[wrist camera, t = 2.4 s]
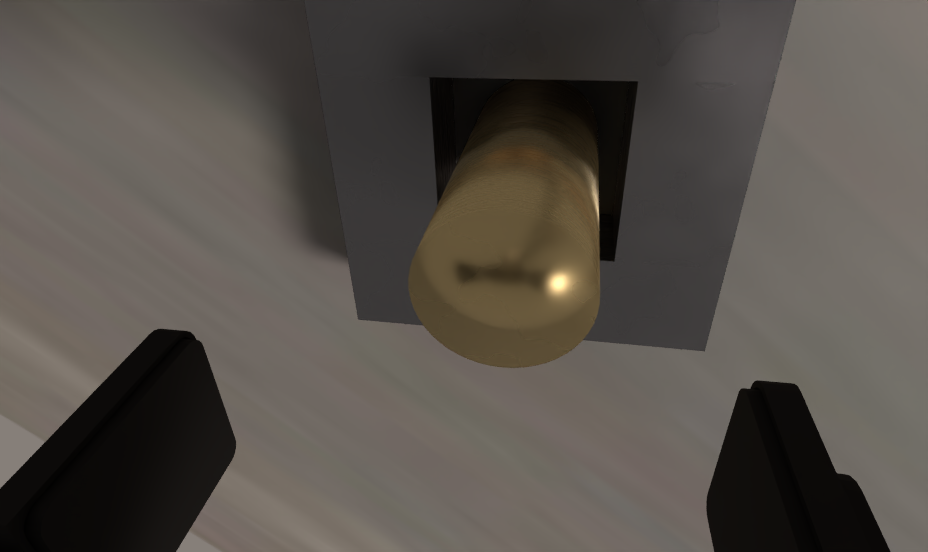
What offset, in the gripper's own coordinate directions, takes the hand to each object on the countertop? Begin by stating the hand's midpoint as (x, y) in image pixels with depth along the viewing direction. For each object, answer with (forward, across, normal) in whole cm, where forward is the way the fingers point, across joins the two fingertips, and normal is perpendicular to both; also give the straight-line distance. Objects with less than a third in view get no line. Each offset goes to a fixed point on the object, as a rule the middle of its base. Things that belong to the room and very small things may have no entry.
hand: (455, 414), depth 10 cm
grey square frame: (+12, -1, -1) cm, 12 cm away
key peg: (+12, -1, -1) cm, 12 cm away
